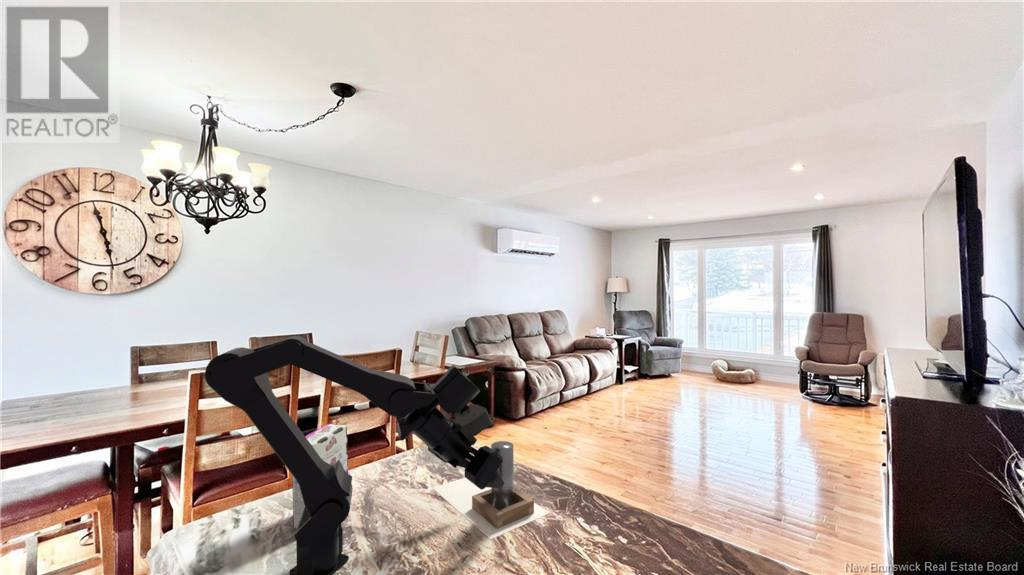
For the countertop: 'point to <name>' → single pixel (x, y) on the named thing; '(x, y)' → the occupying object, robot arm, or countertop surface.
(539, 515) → the board
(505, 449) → the grey tall rounded cylinder
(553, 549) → the countertop surface
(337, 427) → the candy bar box
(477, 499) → the square wooden frame
